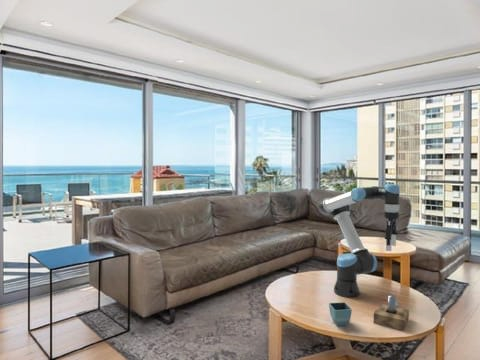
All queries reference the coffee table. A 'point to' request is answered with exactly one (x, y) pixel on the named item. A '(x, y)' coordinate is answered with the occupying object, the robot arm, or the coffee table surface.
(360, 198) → the robot arm
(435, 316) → the coffee table surface
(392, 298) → the grey metal peg
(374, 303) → the coffee table surface
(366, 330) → the coffee table surface
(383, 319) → the block
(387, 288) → the coffee table surface
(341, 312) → the flower pot
